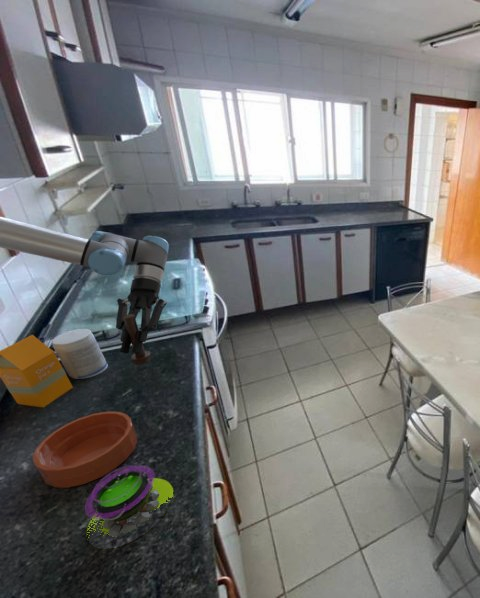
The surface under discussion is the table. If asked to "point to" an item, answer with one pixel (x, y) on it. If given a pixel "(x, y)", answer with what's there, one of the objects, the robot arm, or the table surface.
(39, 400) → the orange juice
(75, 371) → the supplement tub
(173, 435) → the table surface
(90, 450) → the bowl
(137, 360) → the wooden masher
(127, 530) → the toy cauldron
